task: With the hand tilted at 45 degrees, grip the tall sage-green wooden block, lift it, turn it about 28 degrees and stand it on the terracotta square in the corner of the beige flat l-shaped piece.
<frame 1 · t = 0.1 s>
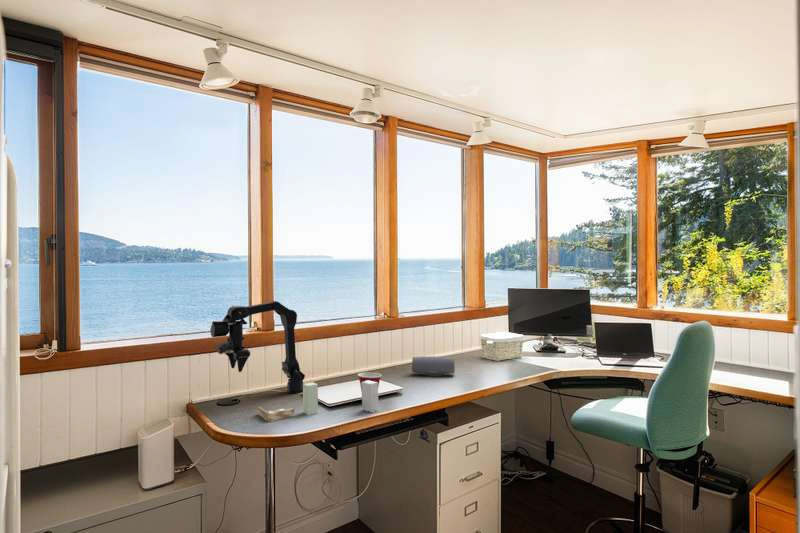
hand: (236, 370, 215), 15 cm above the table, tool pointing down, fingers open, 9 cm apart
storage basket: (502, 358, 307), on the table
sage block: (310, 412, 201), on the table
plastic cup: (369, 400, 218), on the table
beige flat l-shaped piece: (276, 414, 199), on the table
bluetooth speaker: (433, 375, 264), on the table
skincare box: (370, 411, 204), on the table
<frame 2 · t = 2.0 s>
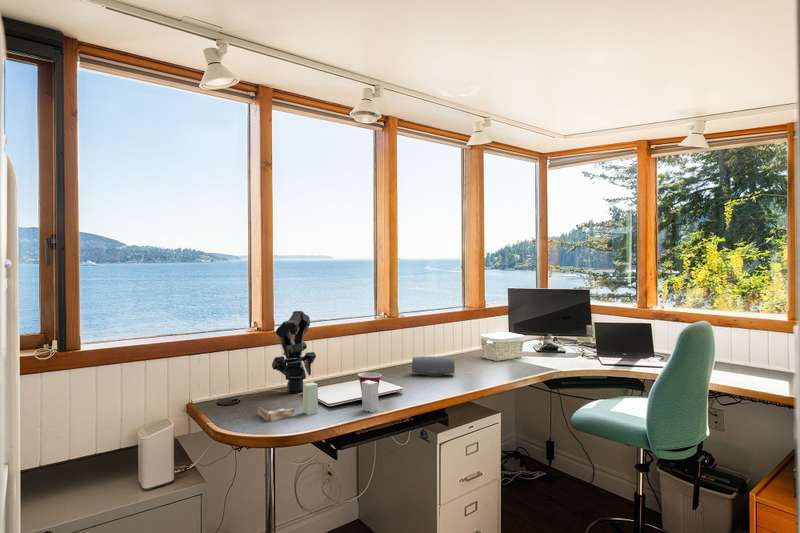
hand: (300, 376, 207), 13 cm above the table, tool tilted 45°, fingers open, 9 cm apart
nothing on the table moved.
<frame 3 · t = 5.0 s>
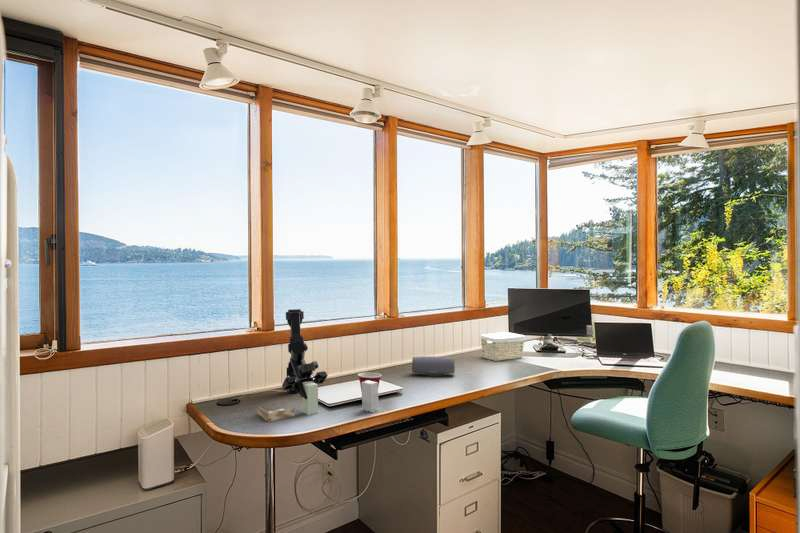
hand: (311, 397, 200), 7 cm above the table, tool tilted 45°, fingers closed on sage block, 4 cm apart
sage block: (310, 412, 201), on the table, touching gripper
everything else where it was.
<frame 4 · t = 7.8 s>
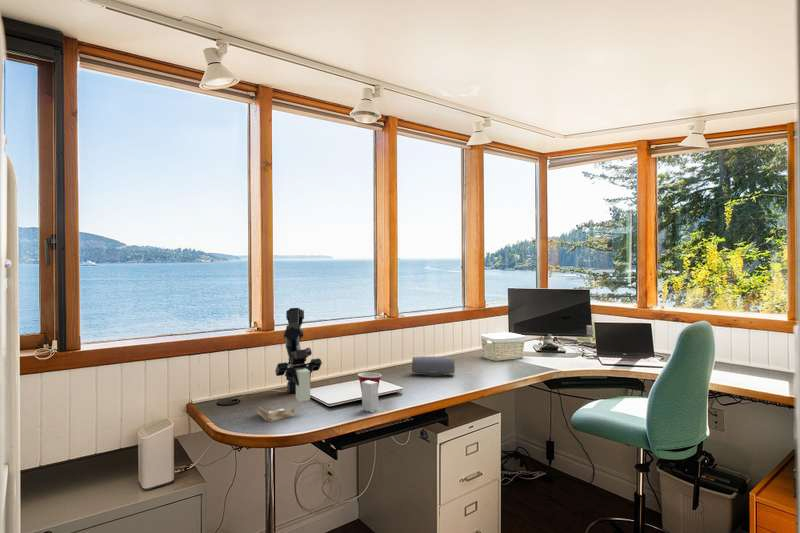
hand: (303, 384, 199), 12 cm above the table, tool tilted 45°, fingers closed on sage block, 4 cm apart
sage block: (303, 399, 200), point 6 cm above the table, touching gripper
when the fingers open (8 cm above the table, at t = 10.4 s): sage block stays where it is, resting on beige flat l-shaped piece.
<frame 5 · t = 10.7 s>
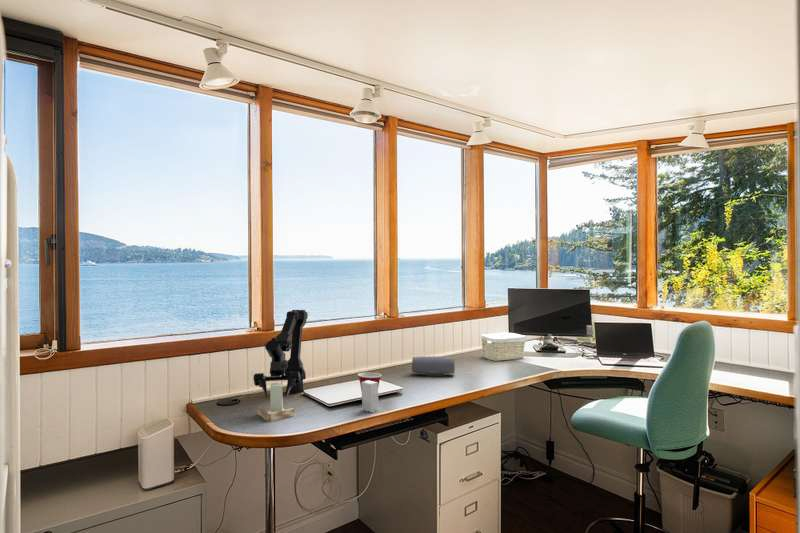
hand: (276, 396, 198), 8 cm above the table, tool tilted 45°, fingers open, 8 cm apart
sage block: (276, 413, 199), resting on beige flat l-shaped piece
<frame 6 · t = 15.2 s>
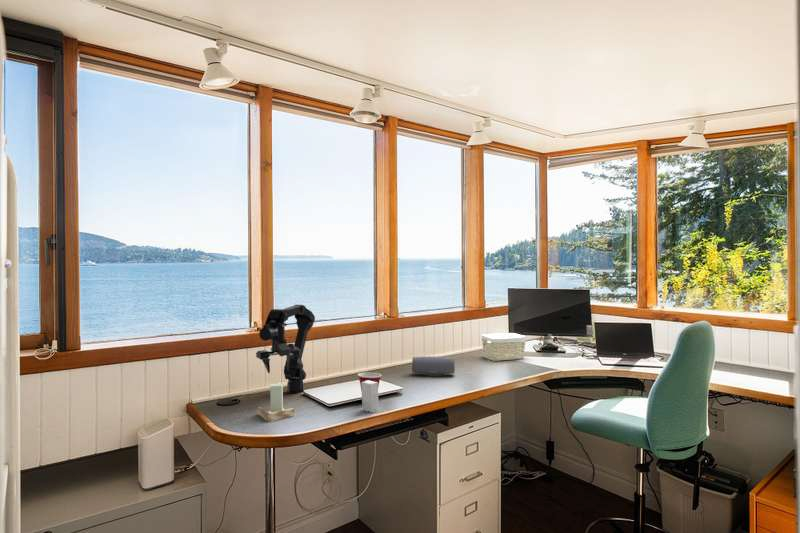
hand: (278, 371, 219), 13 cm above the table, tool pointing down, fingers open, 9 cm apart
at the end: sage block 0.1 cm off-centre on the beige flat l-shaped piece, point 0.4 cm above the beige flat l-shaped piece's base; sage block tilted 0°; the gripper is holding nothing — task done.
